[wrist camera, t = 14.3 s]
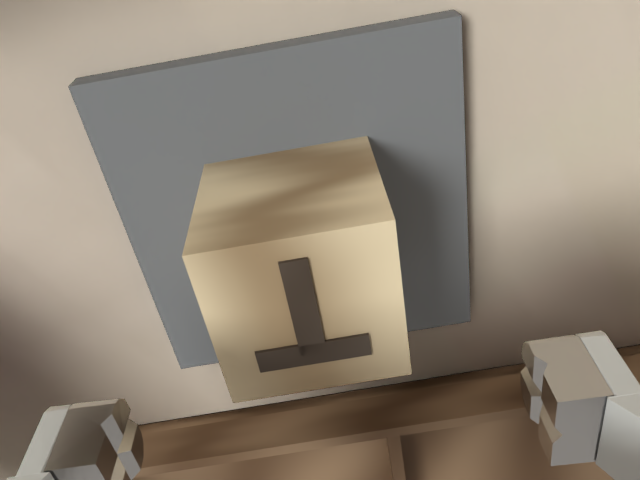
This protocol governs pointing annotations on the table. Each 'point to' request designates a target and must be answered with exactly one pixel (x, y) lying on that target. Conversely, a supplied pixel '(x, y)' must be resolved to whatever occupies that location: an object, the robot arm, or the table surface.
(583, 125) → the table surface
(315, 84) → the gray mat
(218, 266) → the maple block
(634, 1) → the table surface
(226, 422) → the walnut organizer
